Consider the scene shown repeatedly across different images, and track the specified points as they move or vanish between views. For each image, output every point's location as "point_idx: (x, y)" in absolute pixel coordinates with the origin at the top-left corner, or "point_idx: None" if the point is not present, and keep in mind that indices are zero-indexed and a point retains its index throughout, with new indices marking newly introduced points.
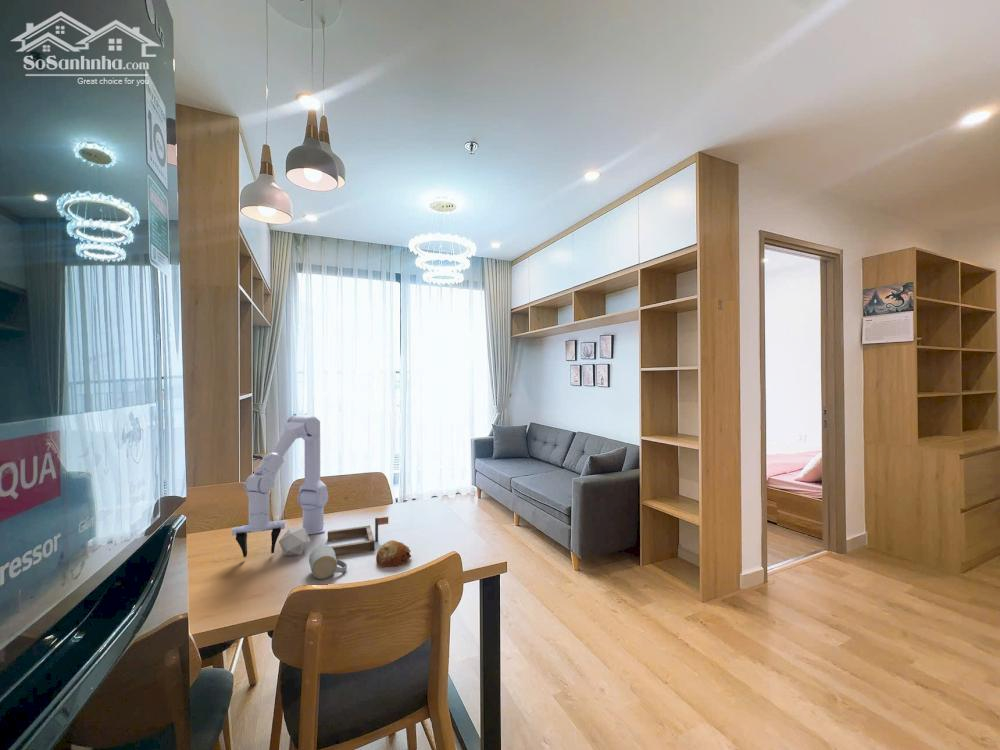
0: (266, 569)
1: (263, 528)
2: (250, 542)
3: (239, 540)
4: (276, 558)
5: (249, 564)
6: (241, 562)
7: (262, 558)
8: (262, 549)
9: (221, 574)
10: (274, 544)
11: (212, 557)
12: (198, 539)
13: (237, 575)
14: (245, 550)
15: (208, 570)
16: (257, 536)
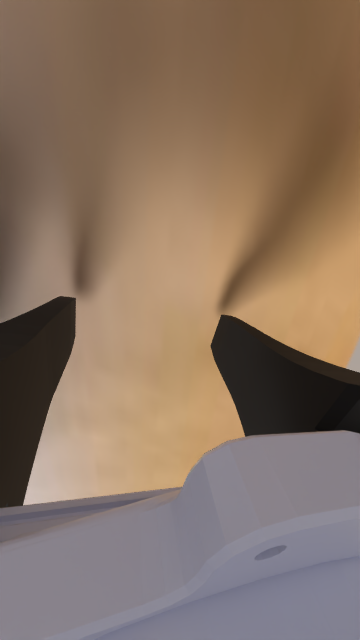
0: (99, 44)
1: (121, 565)
2: (172, 464)
3: (358, 376)
4: (43, 257)
5: (203, 252)
6: (231, 303)
7: (132, 302)
8: (132, 403)
9: (346, 191)
10: (20, 315)
11: None
12: None
13: (297, 90)
14: (243, 333)
15: (356, 285)
16: None
